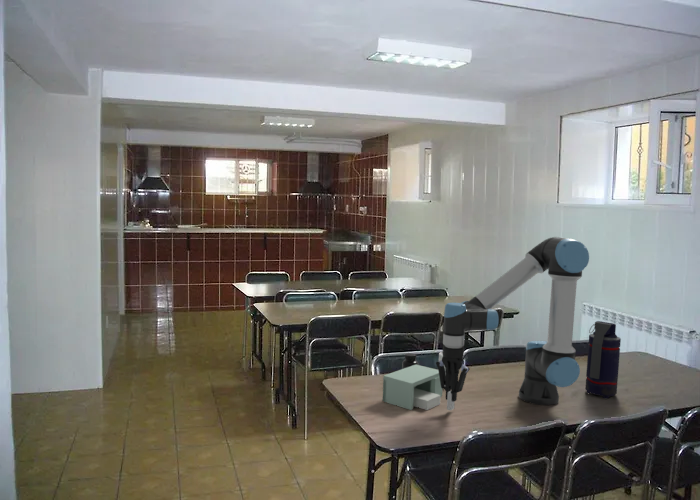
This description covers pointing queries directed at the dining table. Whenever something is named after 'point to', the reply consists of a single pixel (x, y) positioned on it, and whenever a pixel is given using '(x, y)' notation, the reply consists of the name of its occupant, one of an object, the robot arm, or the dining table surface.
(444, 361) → the robot arm
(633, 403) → the dining table surface
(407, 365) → the supplement bottle
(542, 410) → the dining table surface
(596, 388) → the grenade
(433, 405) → the lid
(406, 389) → the shelf
